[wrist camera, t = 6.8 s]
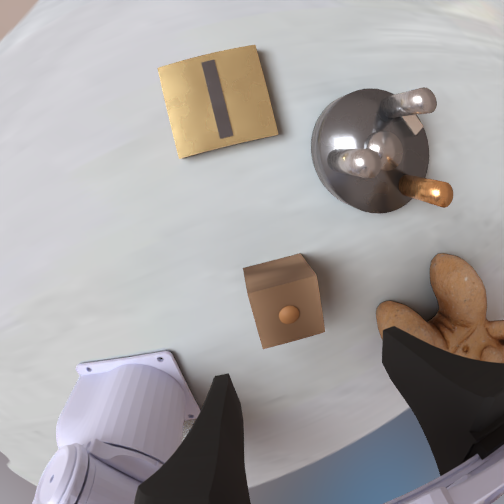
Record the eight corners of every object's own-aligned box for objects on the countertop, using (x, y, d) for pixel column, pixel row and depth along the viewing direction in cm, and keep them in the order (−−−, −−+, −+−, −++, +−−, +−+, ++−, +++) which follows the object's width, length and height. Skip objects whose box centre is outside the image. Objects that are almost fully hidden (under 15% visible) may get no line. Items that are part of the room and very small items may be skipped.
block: (256, 316, 22) (263, 350, 18) (242, 267, 20) (247, 294, 17) (309, 302, 22) (325, 332, 18) (300, 253, 21) (317, 276, 17)
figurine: (445, 230, 21) (579, 336, 9) (454, 284, 26) (549, 371, 14) (355, 320, 22) (474, 467, 10) (384, 355, 27) (468, 461, 15)
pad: (181, 158, 18) (178, 158, 17) (160, 72, 16) (157, 67, 15) (275, 135, 18) (278, 134, 17) (253, 49, 16) (255, 44, 15)
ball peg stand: (363, 230, 20) (409, 258, 15) (285, 147, 18) (312, 144, 12) (429, 156, 19) (484, 163, 13) (363, 72, 17) (410, 49, 11)
